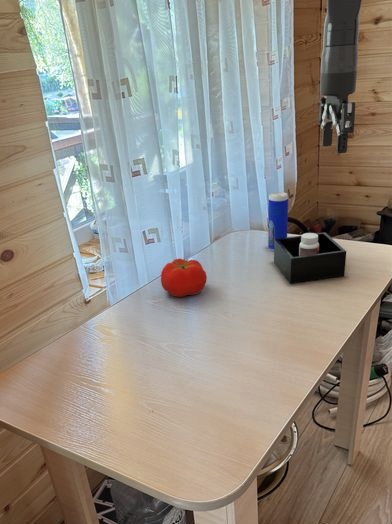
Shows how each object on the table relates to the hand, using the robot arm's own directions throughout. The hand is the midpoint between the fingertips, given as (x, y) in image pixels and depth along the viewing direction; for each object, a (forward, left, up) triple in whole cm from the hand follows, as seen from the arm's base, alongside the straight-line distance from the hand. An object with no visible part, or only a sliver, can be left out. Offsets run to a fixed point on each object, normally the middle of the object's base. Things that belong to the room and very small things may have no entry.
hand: (333, 149), depth 118 cm
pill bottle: (+6, +3, -28) cm, 28 cm away
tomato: (+38, +6, -28) cm, 48 cm away
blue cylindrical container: (+9, -13, -28) cm, 32 cm away
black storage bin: (+6, +3, -28) cm, 29 cm away
